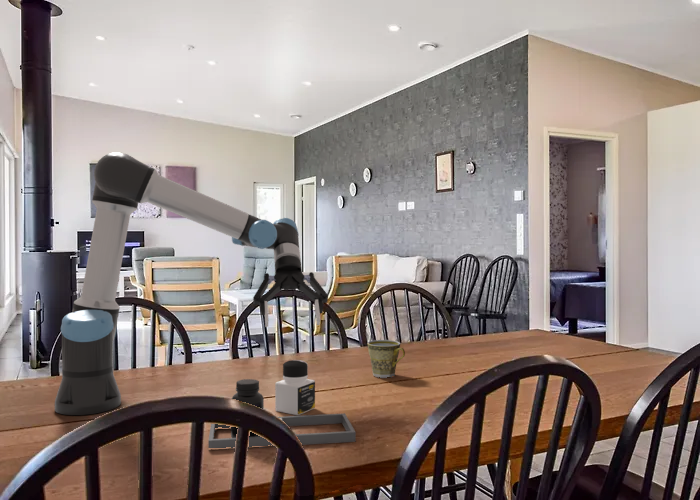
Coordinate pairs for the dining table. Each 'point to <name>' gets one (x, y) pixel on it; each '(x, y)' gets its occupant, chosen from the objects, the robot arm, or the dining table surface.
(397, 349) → the ceramic cup
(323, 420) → the tray
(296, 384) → the medicine bottle
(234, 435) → the supplement bottle
